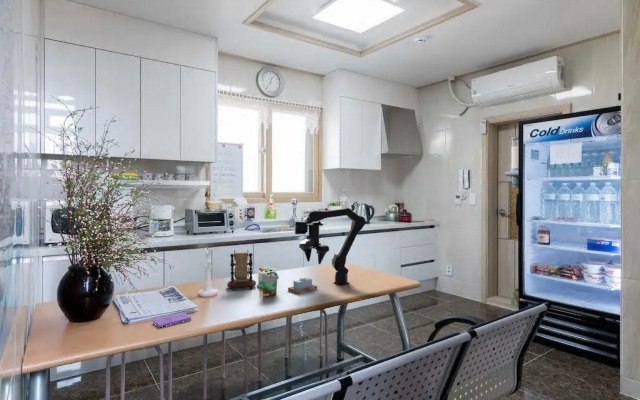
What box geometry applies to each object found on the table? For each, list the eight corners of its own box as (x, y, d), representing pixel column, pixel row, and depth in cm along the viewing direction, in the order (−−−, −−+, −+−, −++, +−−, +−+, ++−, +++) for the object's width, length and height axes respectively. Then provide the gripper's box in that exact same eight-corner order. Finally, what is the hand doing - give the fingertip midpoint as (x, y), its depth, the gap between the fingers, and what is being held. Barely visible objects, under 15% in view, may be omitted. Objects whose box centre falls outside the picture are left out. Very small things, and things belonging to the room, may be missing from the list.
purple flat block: (191, 321, 148) (191, 316, 148) (158, 329, 140) (158, 324, 140) (184, 316, 153) (184, 312, 153) (152, 324, 145) (152, 319, 145)
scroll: (226, 292, 186) (226, 252, 185) (227, 284, 201) (227, 247, 200) (256, 290, 189) (256, 251, 188) (255, 283, 204) (255, 247, 203)
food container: (274, 298, 176) (274, 278, 175) (261, 298, 177) (261, 277, 177) (281, 291, 188) (281, 271, 188) (270, 290, 189) (270, 271, 189)
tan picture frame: (307, 286, 197) (307, 283, 197) (317, 289, 192) (316, 286, 191) (288, 291, 189) (288, 287, 189) (297, 294, 183) (297, 290, 183)
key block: (293, 290, 189) (293, 279, 188) (307, 287, 195) (307, 276, 194) (298, 292, 186) (298, 280, 185) (312, 288, 192) (312, 277, 191)
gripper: (291, 233, 201) (291, 262, 201) (313, 237, 187) (313, 268, 187) (307, 231, 208) (307, 259, 209) (329, 235, 194) (329, 264, 195)
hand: (313, 262), depth 200 cm, fingers open, 9 cm apart
